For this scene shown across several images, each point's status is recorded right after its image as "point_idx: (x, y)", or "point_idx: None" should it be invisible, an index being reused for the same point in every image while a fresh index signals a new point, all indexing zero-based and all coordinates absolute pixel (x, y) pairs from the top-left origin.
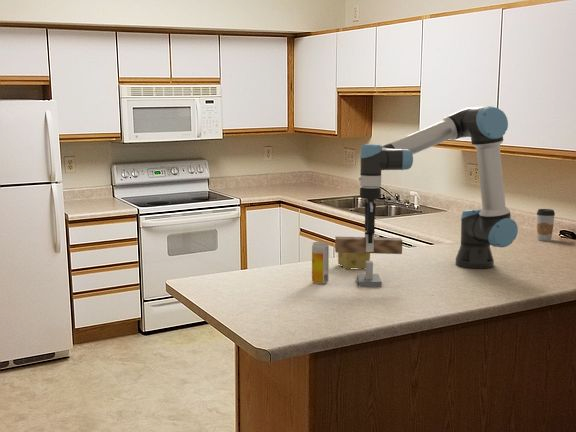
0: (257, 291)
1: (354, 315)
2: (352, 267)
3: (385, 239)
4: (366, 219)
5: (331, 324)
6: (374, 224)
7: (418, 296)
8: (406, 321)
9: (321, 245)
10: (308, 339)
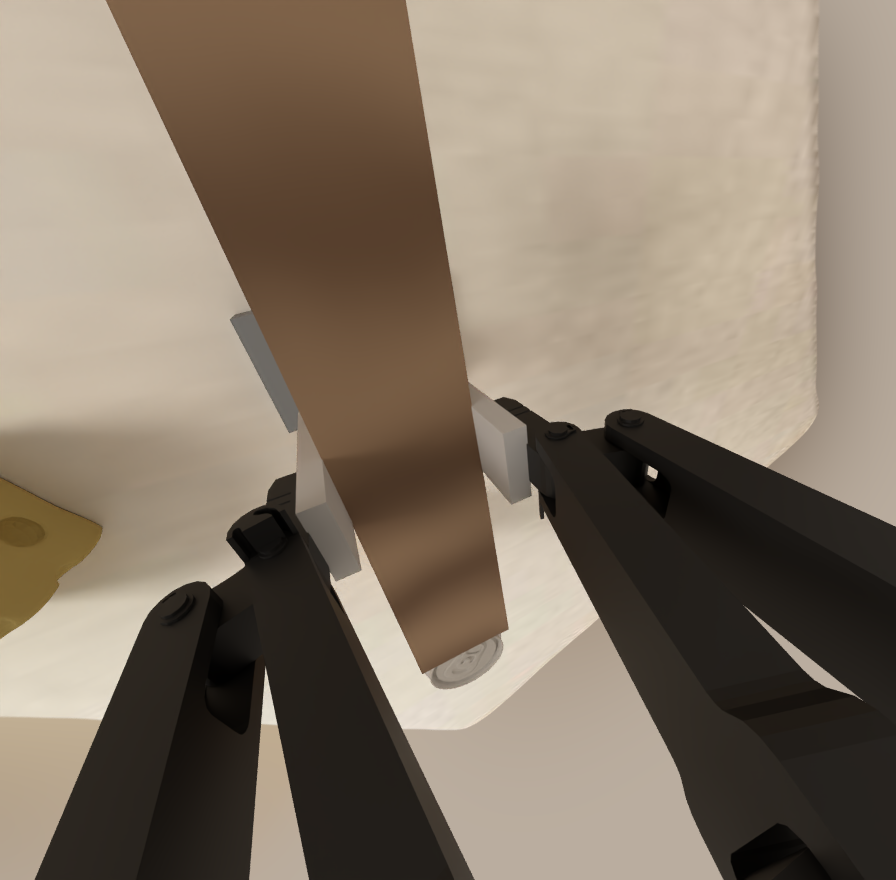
0: (526, 590)
1: (723, 315)
2: (53, 515)
3: (406, 267)
4: (410, 749)
5: (760, 355)
6: (759, 465)
7: (552, 23)
8: (812, 130)
9: (499, 636)
10: (811, 372)
